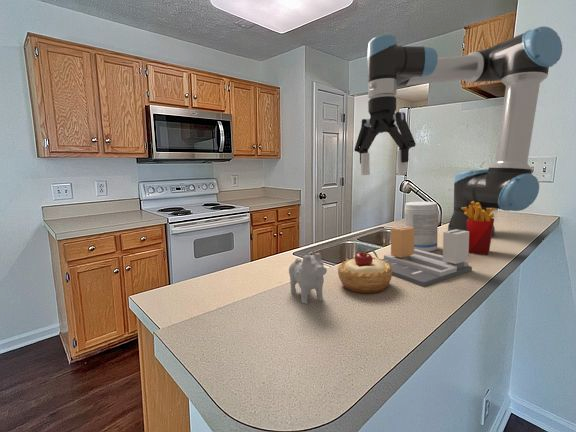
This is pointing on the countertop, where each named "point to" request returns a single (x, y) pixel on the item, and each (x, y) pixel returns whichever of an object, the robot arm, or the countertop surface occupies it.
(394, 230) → the fader knob
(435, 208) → the supplement tub
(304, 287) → the dog figurine
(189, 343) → the countertop surface
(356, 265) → the pastry
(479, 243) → the french fries
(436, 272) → the console board
